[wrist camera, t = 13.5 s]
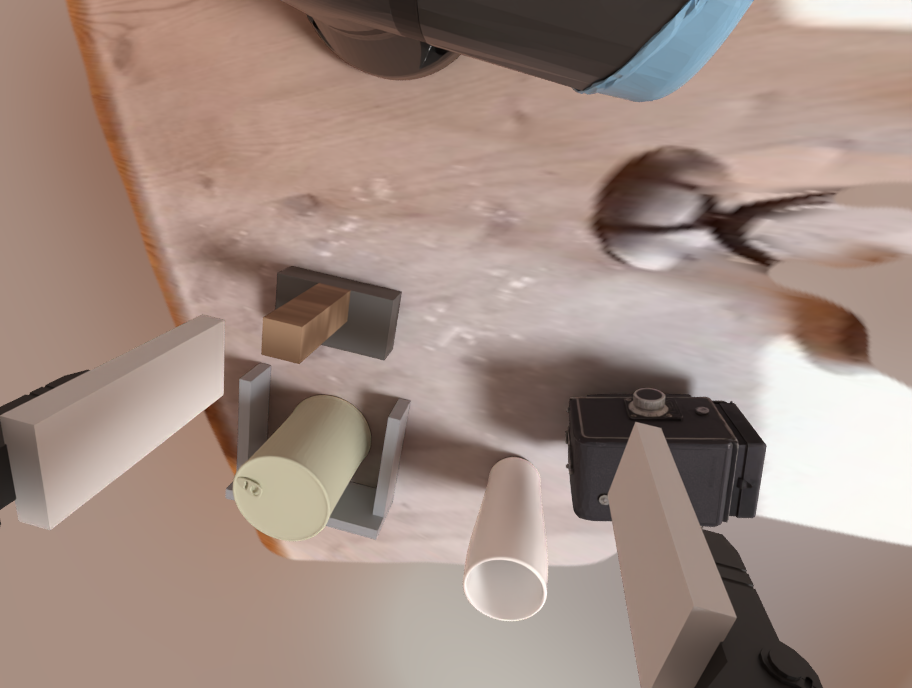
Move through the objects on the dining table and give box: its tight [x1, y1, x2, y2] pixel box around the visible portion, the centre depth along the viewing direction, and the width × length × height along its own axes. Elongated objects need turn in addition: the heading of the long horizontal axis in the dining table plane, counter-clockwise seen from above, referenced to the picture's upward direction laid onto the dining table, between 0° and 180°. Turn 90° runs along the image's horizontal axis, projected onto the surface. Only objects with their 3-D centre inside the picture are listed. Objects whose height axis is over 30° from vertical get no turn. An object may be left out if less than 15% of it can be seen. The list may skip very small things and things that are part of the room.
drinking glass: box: [463, 457, 548, 621], centre depth 47 cm, size 7×7×15 cm
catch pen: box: [226, 363, 410, 540], centre depth 53 cm, size 13×16×6 cm
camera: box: [565, 388, 766, 529], centre depth 44 cm, size 11×11×15 cm
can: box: [233, 395, 371, 541], centre depth 50 cm, size 9×9×12 cm
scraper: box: [261, 266, 402, 364], centre depth 44 cm, size 6×11×13 cm, turn 79°
